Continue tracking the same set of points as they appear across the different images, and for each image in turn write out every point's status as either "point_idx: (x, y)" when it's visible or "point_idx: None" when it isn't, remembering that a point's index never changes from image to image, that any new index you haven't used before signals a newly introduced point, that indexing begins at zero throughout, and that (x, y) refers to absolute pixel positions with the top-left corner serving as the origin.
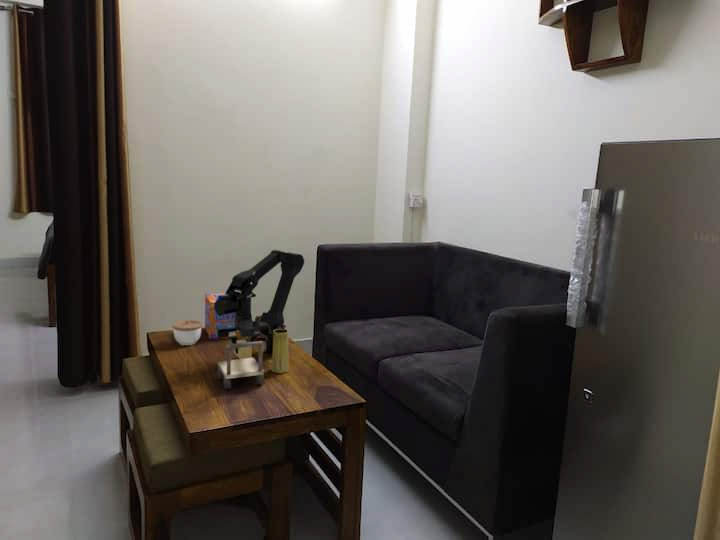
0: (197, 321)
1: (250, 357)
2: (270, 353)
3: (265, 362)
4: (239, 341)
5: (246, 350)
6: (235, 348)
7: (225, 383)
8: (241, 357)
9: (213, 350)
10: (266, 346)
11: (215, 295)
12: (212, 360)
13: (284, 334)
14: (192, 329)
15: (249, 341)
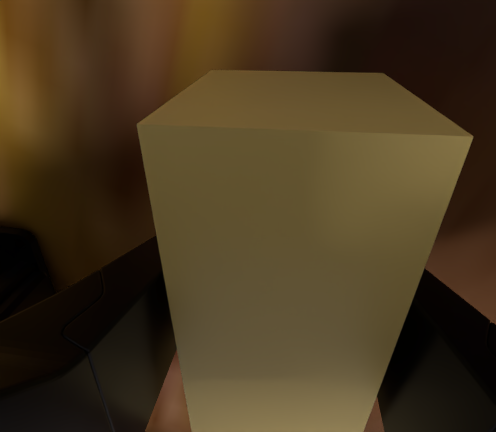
0: None
1: (227, 70)
2: (14, 245)
3: (71, 87)
4: (290, 420)
5: (290, 101)
6: (431, 278)
7: None
8: (375, 80)
9: (369, 428)
10: (9, 311)
11: None
12: (488, 316)
13: None
14: None
15: (141, 345)
